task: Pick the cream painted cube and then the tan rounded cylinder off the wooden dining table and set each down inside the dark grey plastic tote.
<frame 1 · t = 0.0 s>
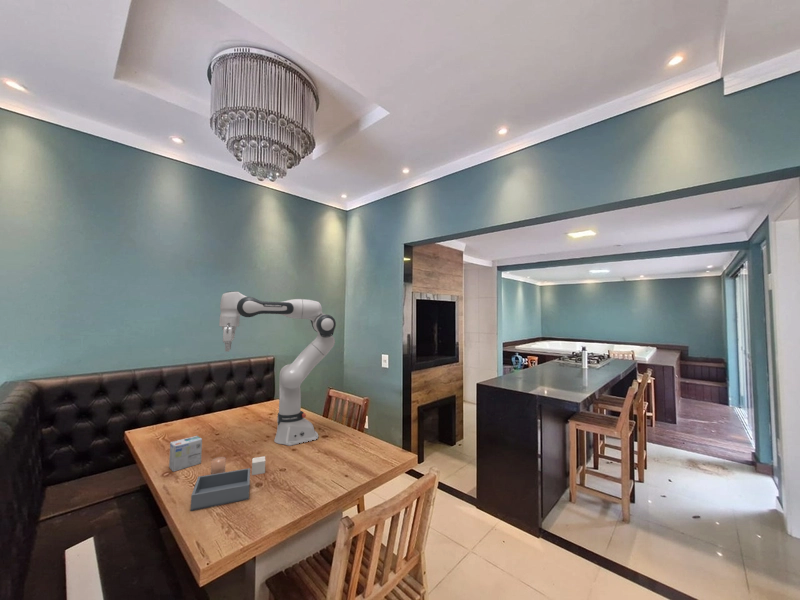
hand: (228, 350, 157), 48 cm above the table, fingers open, 8 cm apart
cream cube: (258, 471, 132), on the table
tote: (222, 494, 114), on the table
tan rounded cylinder: (217, 477, 127), on the table
light bulb box: (185, 465, 136), on the table
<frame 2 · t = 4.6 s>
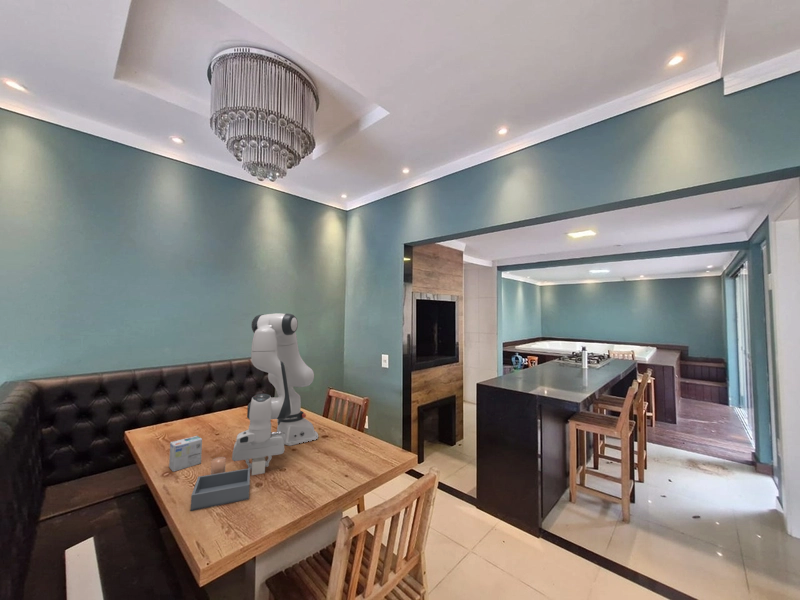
hand: (258, 467, 132), 2 cm above the table, fingers closed on cream cube, 5 cm apart
cream cube: (258, 471, 132), on the table, touching gripper
everything else where it was.
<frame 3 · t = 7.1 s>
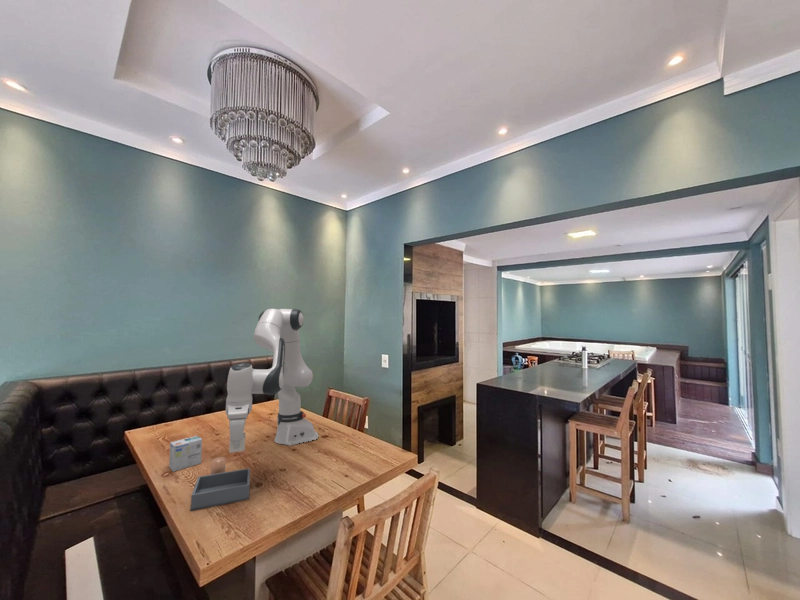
hand: (237, 445, 117), 17 cm above the table, fingers closed on cream cube, 5 cm apart
cream cube: (237, 449, 117), point 16 cm above the table, touching gripper
everything else where it was.
when the fingers open (4 cm above the table, at t = 9.5 s): cream cube drops 1 cm, resting on tote.
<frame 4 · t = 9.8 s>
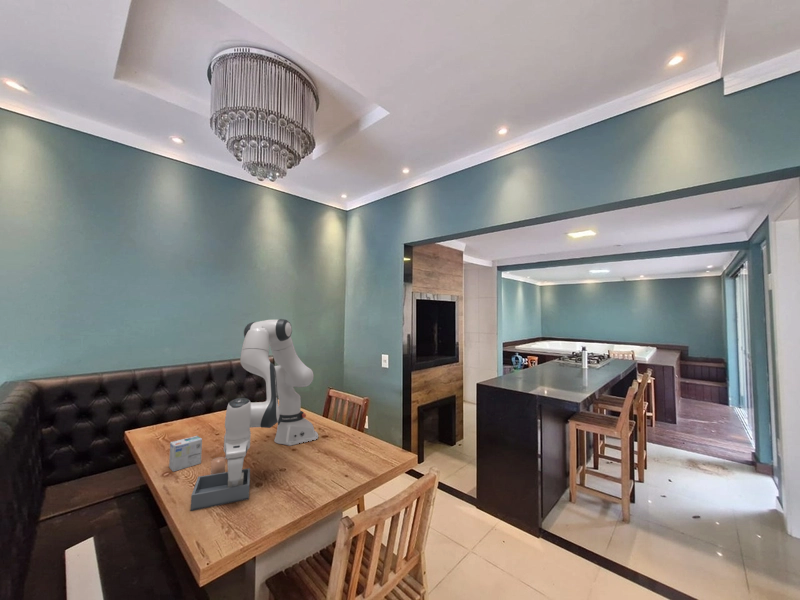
hand: (235, 482, 116), 4 cm above the table, fingers open, 8 cm apart
cream cube: (235, 490, 116), point 1 cm above the table, touching tote
everything else where it was.
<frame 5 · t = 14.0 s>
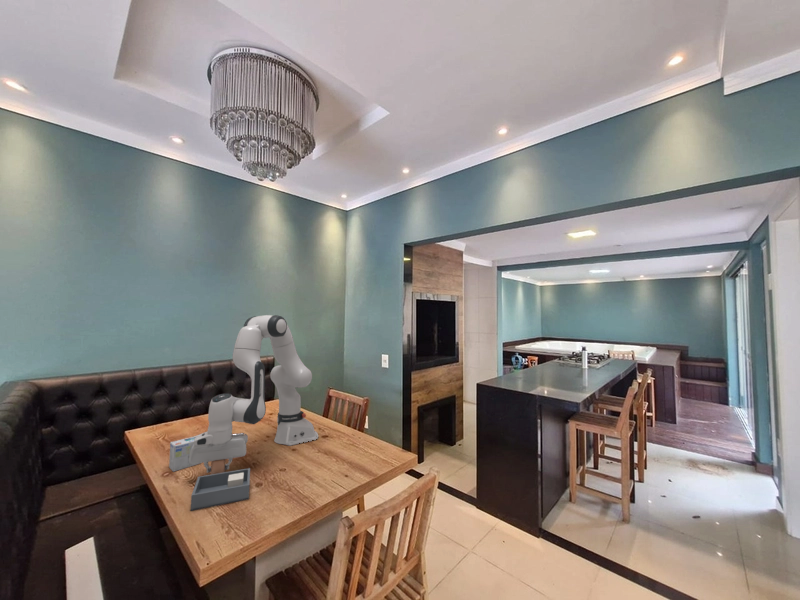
hand: (218, 470, 127), 3 cm above the table, fingers closed on tan rounded cylinder, 5 cm apart
tan rounded cylinder: (217, 477, 127), on the table, touching gripper
everything else where it was.
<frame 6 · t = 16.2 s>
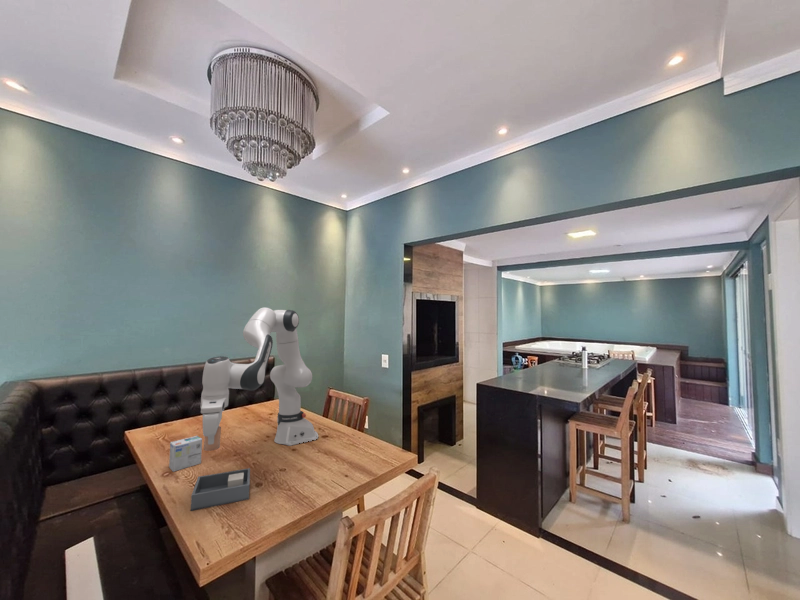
hand: (212, 440, 114), 20 cm above the table, fingers closed on tan rounded cylinder, 5 cm apart
tan rounded cylinder: (211, 448, 114), point 17 cm above the table, touching gripper
everything else where it was.
when the fingers open (5 cm above the table, at t = 18.9 s): tan rounded cylinder drops 2 cm, resting on tote.
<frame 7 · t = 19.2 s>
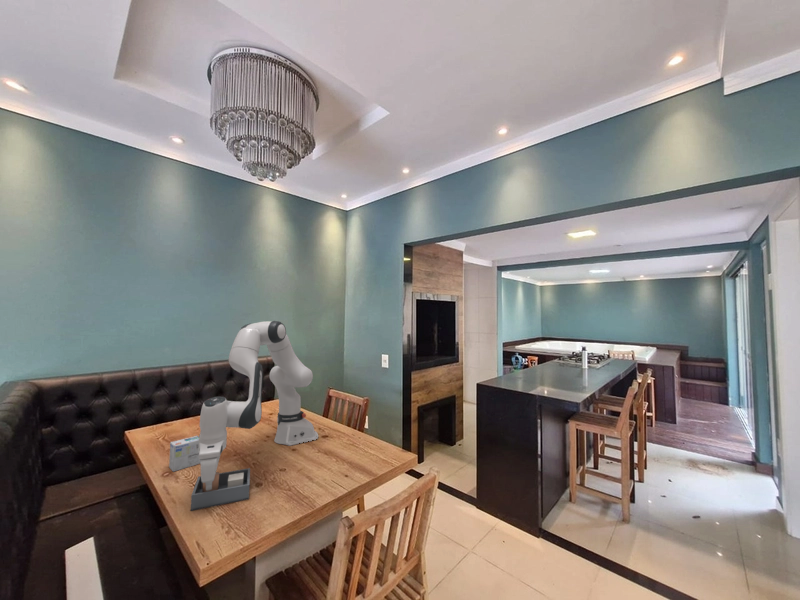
hand: (210, 483, 113), 5 cm above the table, fingers open, 8 cm apart
tan rounded cylinder: (210, 495, 113), point 1 cm above the table, touching tote
everything else where it was.
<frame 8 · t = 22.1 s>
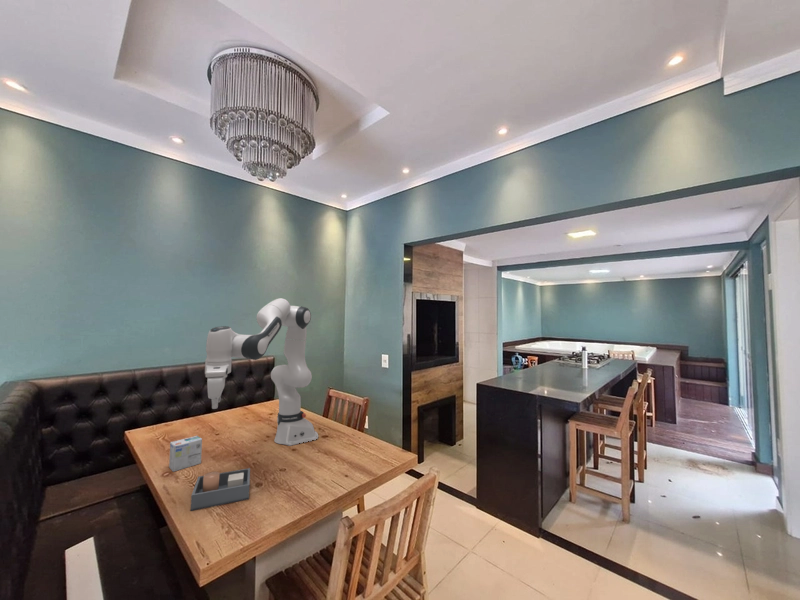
hand: (216, 405, 120), 31 cm above the table, fingers open, 8 cm apart
nothing on the table moved.
at the end: cream cube inside the target area on the tote (4.1 cm from its centre), point 0.6 cm above the tote's base; tan rounded cylinder inside the target area on the tote (3.9 cm from its centre), point 0.7 cm above the tote's base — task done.
